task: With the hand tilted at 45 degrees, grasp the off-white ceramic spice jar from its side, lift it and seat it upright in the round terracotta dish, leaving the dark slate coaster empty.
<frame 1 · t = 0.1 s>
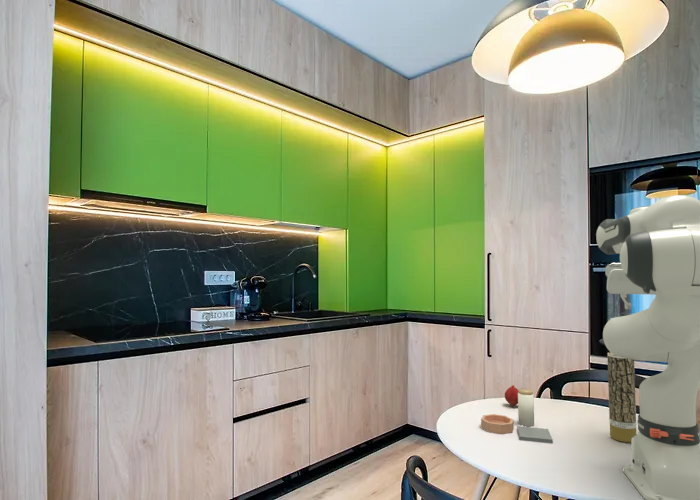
hand: (647, 309, 127), 39 cm above the table, tool pointing down, fingers open, 8 cm apart
slate coaster: (534, 435, 133), on the table
onion: (513, 407, 162), on the table
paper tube: (623, 439, 130), on the table
spice jar: (526, 424, 143), on the table
terracotta dish: (497, 428, 139), on the table
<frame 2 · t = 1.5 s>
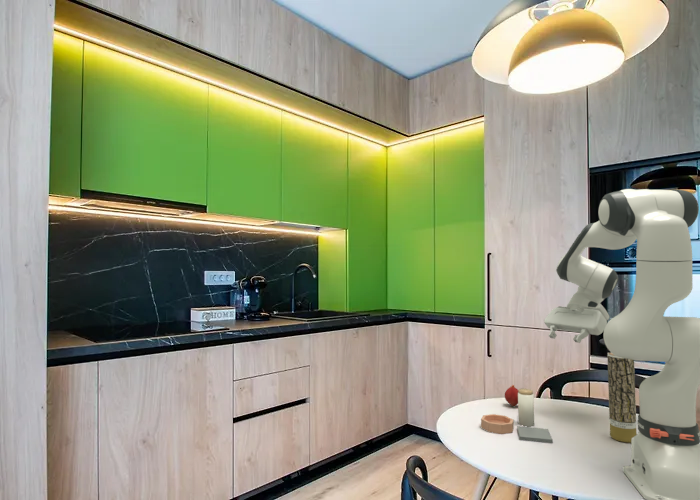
hand: (563, 339, 146), 27 cm above the table, tool tilted 45°, fingers open, 8 cm apart
nothing on the table moved.
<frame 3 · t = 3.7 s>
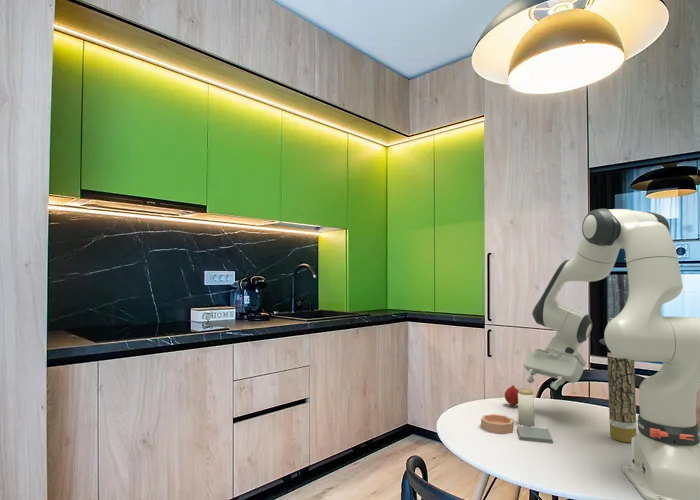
hand: (540, 384, 147), 12 cm above the table, tool tilted 45°, fingers open, 8 cm apart
nothing on the table moved.
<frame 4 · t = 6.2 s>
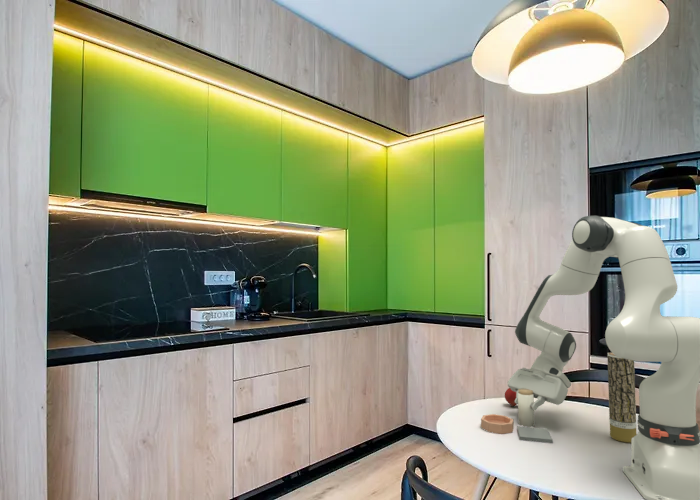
hand: (524, 406, 143), 6 cm above the table, tool tilted 45°, fingers closed on spice jar, 5 cm apart
spice jar: (526, 424, 143), on the table, touching gripper
everything else where it was.
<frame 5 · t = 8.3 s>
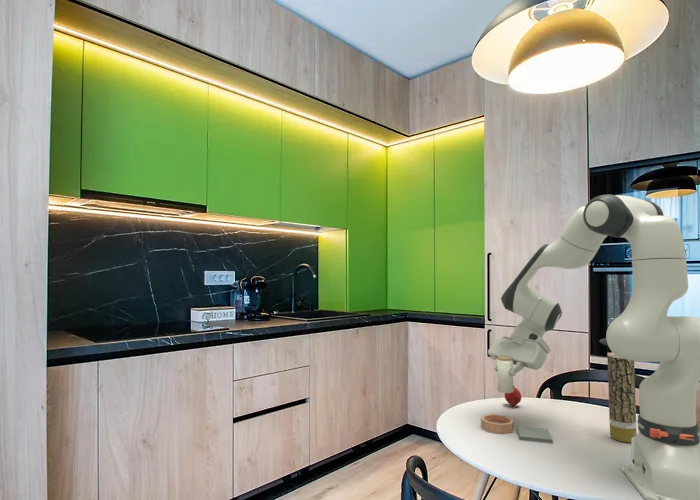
hand: (503, 372, 141), 17 cm above the table, tool tilted 45°, fingers closed on spice jar, 5 cm apart
spice jar: (505, 390, 141), point 11 cm above the table, touching gripper
everything else where it was.
when the fingers open (8 cm above the table, at t = 10.8 s): spice jar stays where it is, resting on terracotta dish.
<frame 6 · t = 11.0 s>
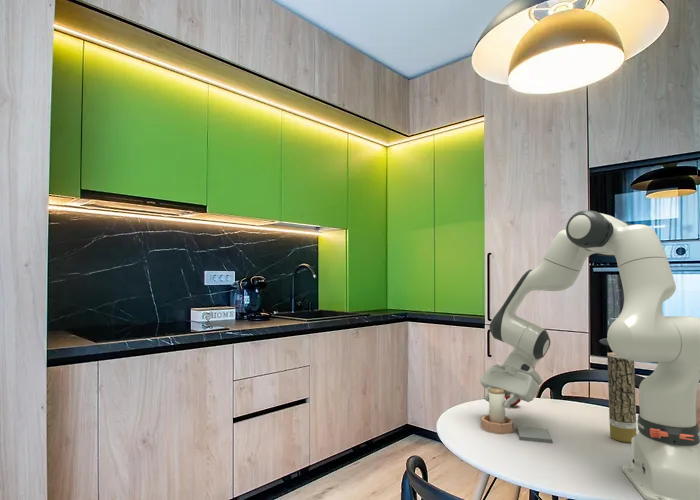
hand: (495, 403, 139), 8 cm above the table, tool tilted 45°, fingers open, 6 cm apart
spice jar: (497, 424, 139), point 1 cm above the table, touching terracotta dish
everything else where it was.
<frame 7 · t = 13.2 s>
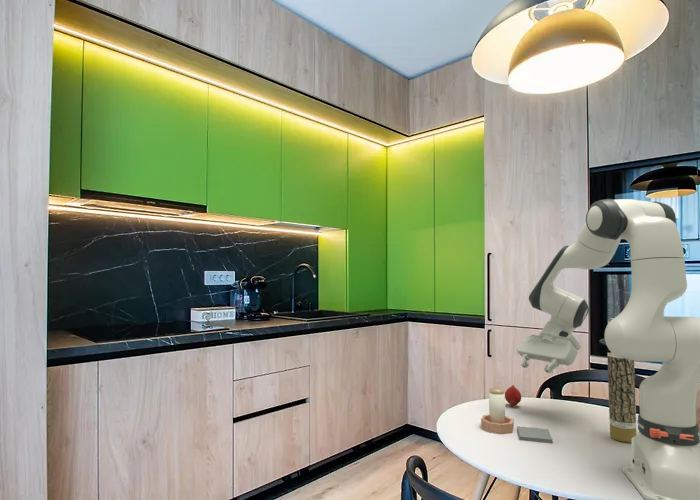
hand: (535, 368, 145), 18 cm above the table, tool tilted 45°, fingers open, 8 cm apart
nothing on the table moved.
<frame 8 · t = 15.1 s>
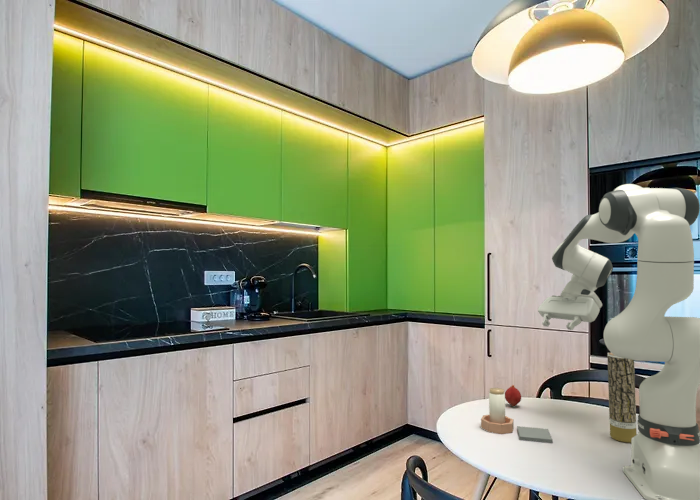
hand: (556, 326, 147), 31 cm above the table, tool tilted 45°, fingers open, 8 cm apart
nothing on the table moved.
at the end: spice jar 0.1 cm from the terracotta dish (horizontally); spice jar tilted 0°; the gripper is holding nothing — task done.
